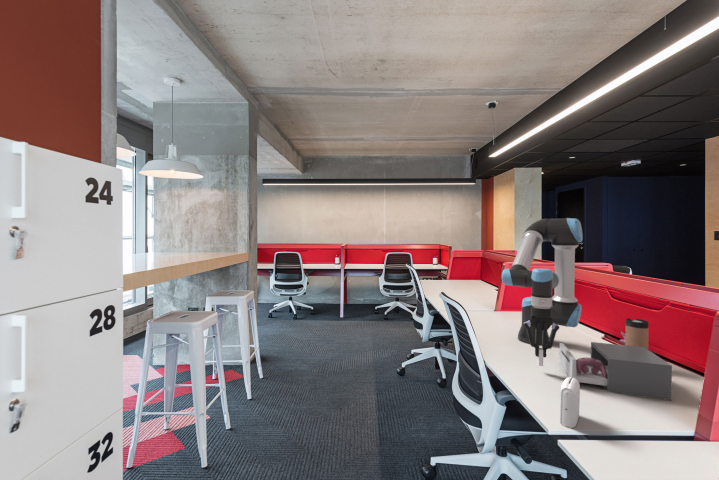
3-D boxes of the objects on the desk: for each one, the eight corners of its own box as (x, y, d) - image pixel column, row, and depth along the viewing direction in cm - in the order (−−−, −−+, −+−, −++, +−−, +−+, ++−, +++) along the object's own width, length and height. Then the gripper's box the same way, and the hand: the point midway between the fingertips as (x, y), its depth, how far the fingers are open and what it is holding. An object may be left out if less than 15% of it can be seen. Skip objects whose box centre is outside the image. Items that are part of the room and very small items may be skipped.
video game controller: (604, 378, 129) (602, 360, 132) (608, 377, 125) (606, 358, 128) (575, 375, 132) (573, 356, 135) (578, 373, 128) (576, 355, 131)
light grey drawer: (571, 382, 124) (571, 359, 123) (558, 363, 142) (558, 342, 142) (631, 390, 118) (632, 366, 117) (610, 369, 136) (610, 348, 136)
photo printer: (575, 430, 96) (576, 387, 96) (558, 424, 99) (559, 383, 98) (580, 415, 104) (581, 376, 104) (564, 410, 107) (565, 372, 106)
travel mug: (642, 371, 138) (643, 323, 138) (621, 365, 145) (622, 319, 145) (651, 368, 142) (652, 321, 141) (630, 362, 149) (631, 317, 148)
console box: (608, 391, 120) (609, 358, 120) (590, 370, 139) (591, 341, 138) (671, 400, 114) (672, 365, 114) (643, 377, 133) (644, 347, 133)
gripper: (524, 307, 134) (523, 365, 134) (562, 310, 130) (560, 370, 130) (522, 303, 141) (521, 359, 142) (557, 306, 137) (556, 363, 137)
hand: (540, 364), depth 136 cm, fingers closed
